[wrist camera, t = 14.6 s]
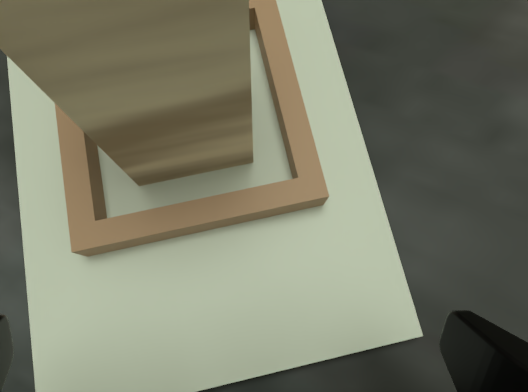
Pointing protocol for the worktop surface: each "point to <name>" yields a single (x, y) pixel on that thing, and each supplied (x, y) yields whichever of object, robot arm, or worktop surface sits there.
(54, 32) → the pine post
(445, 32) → the worktop surface
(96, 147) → the seat plate
